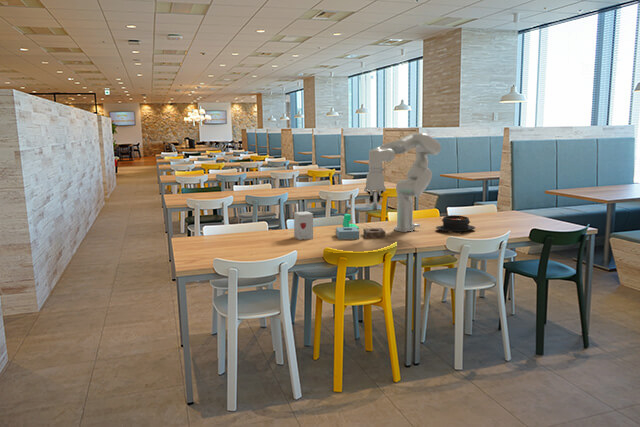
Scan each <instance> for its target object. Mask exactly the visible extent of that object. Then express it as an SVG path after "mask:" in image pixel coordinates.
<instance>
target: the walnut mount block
mask: <svg viewBox="0 0 640 427" xmlns="http://www.w3.org/2000/svg"><path fill="white" fill-rule="evenodd" d="M363 235H364V236H365V238H366V239H386V231H385V229H383V228H381V227H373V228H372V227H370V228H367V227H366V228H363Z"/></svg>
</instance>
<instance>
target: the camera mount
mask: <svg viewBox="0 0 640 427" xmlns="http://www.w3.org/2000/svg"><path fill="white" fill-rule="evenodd" d="M351 220H352V216H351V214H350V213H345V214H344V216H343V221H342V227H357V229H358V230H359V229H360V227H359V226H358V225H357V224H355V223H350V222H351ZM359 231H360V230H359Z"/></svg>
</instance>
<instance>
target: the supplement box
mask: <svg viewBox="0 0 640 427" xmlns="http://www.w3.org/2000/svg"><path fill="white" fill-rule="evenodd" d="M293 218H294V219H293V221H294V222H293V227H294V228H293V237H294V238H295V239H297V240H299V241H300V240H301V241H303V240H302V239H304V240H311V239H314V213H312V212H311V211H295V212H293Z"/></svg>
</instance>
